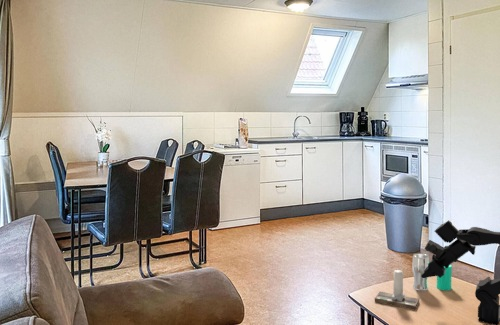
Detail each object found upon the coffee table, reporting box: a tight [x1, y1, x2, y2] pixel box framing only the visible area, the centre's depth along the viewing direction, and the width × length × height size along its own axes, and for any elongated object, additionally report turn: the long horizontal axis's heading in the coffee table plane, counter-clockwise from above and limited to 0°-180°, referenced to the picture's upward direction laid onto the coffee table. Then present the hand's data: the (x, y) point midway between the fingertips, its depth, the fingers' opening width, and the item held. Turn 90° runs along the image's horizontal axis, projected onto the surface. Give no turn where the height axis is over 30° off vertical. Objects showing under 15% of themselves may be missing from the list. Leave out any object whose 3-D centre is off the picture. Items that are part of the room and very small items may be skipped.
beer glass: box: [411, 253, 430, 292], centre depth 188 cm, size 7×7×15 cm
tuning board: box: [374, 291, 420, 310], centre depth 176 cm, size 16×8×2 cm, turn 58°
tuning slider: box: [392, 269, 406, 301], centre depth 174 cm, size 4×6×11 cm, turn 148°
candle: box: [436, 264, 453, 291], centre depth 189 cm, size 6×6×12 cm
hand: (423, 274), depth 169 cm, fingers open, 6 cm apart
